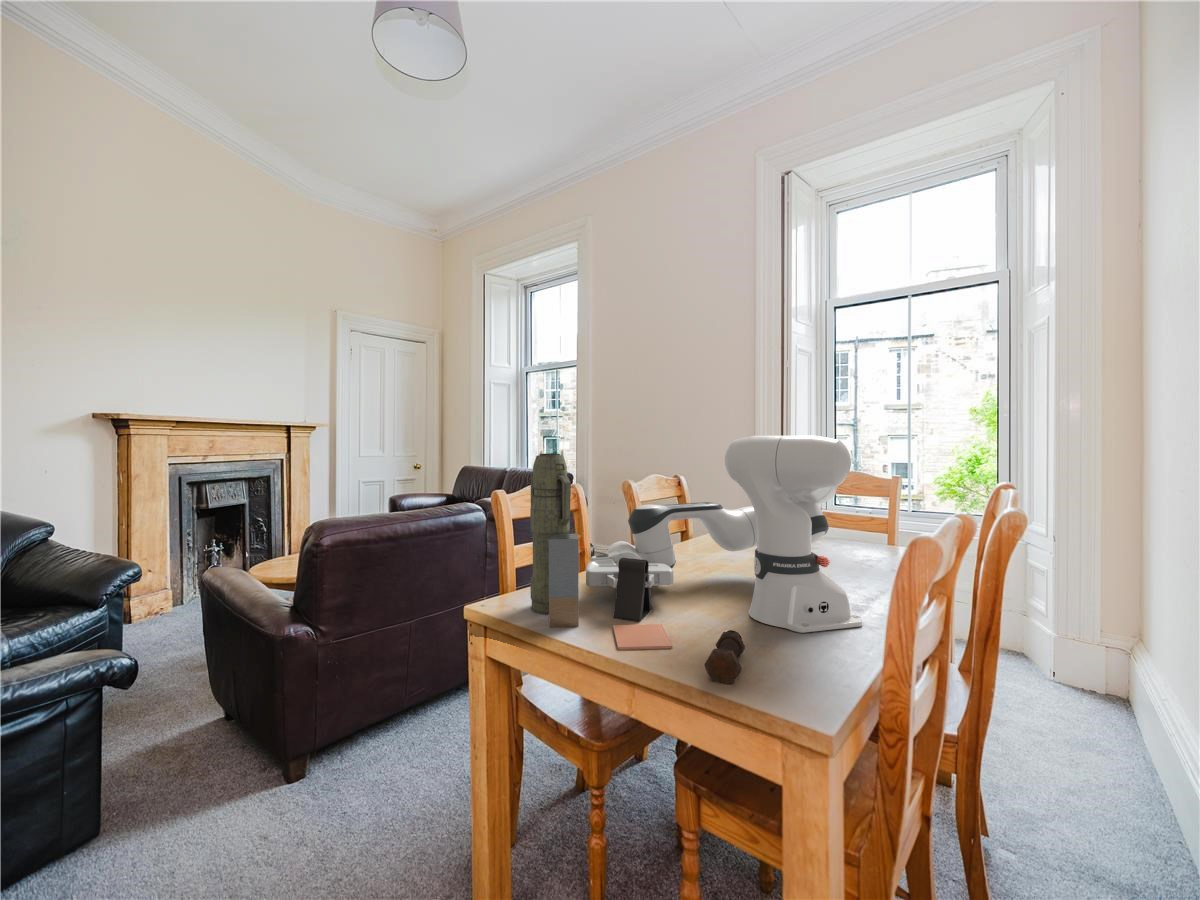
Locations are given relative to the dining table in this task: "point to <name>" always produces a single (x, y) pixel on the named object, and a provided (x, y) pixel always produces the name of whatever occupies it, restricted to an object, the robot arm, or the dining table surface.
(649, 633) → the terracotta tile
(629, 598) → the black folding stand
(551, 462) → the thermos
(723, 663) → the bolt
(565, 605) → the rectangular metal block
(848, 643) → the dining table surface
